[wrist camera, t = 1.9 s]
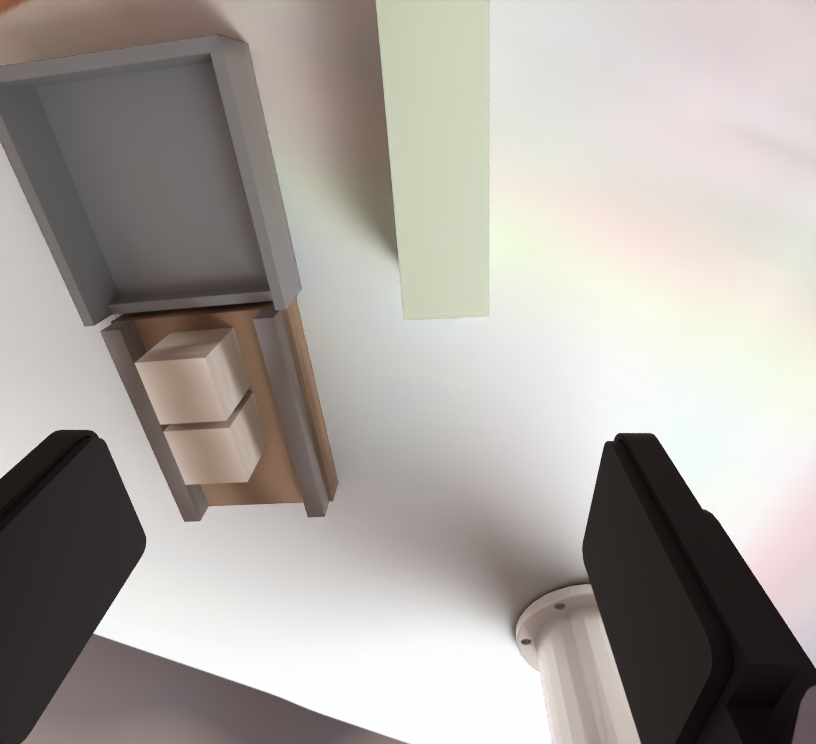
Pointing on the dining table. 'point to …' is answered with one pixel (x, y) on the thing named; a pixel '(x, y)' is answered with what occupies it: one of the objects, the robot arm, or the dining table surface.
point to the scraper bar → (438, 151)
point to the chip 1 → (194, 376)
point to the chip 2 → (219, 446)
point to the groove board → (270, 383)
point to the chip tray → (151, 176)
